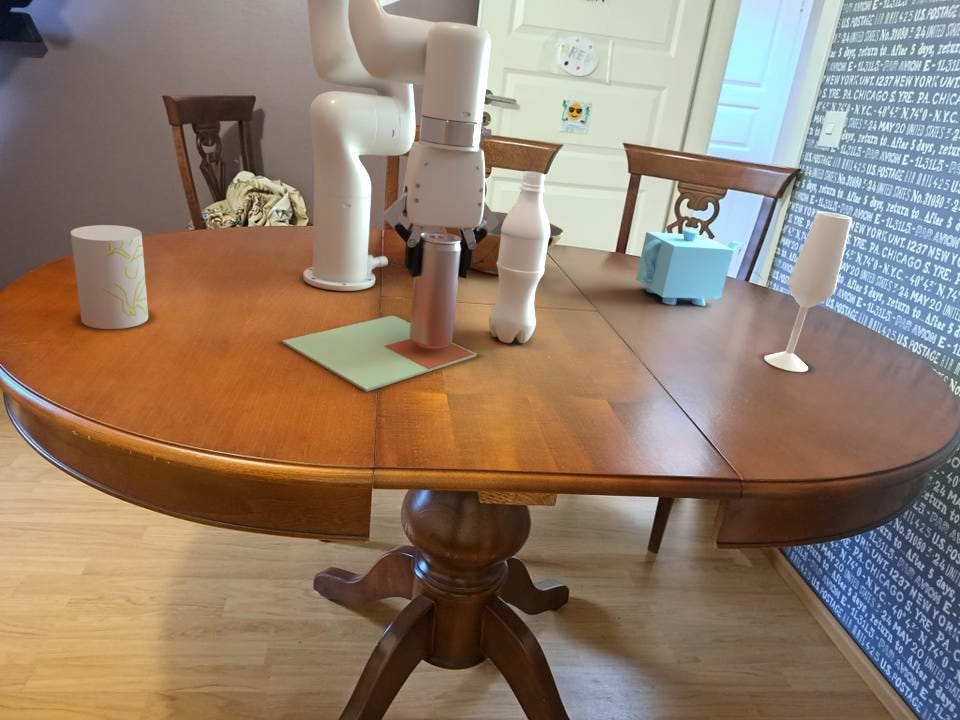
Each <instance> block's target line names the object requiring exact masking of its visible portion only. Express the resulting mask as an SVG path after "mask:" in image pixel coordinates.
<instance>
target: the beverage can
mask: <svg viewBox="0 0 960 720" xmlns="http://www.w3.org/2000/svg"><path fill="white" fill-rule="evenodd" d="M461 241H462V239H461V238H460V237H459V236H456V235H453V234H449V233H447V232H445V231H444V232H442V231H423V232H422V234H421V236H420V238H419V240H418V247H419V248H420V257H419V269H418V276H416V277H413V289H412V301H411V313H410V322H409V323H410V335H409V336H410V339H411V341H412V342H413V343H414V344H415V345H417V346H419V347H422V348H426V349H441V348H445V347H447V346H448V345H449V344H450V342H452V341H453V334H454V327H455V325H454V324H455V315H456V307H457V299H458V298H457V297H458V291H459V290H458V289H459V280H460V276H459V272H460V263H461V254H462V245H461Z"/></svg>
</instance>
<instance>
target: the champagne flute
mask: <svg viewBox="0 0 960 720" xmlns="http://www.w3.org/2000/svg"><path fill="white" fill-rule="evenodd" d="M852 220H853V218H852V217H851V216H850V215H849V216H848V215H845V214H840V213H835V212H829V211H816V214H815V216H814V219H813V221H812V224H811V226H810V228H809V230H808V233H807V235H806V238H805V240H804V242H803V244H802V247H801V250H800V251H799V254H798V257H797V258H796V261H795V263H794V266H793V268H792V270H791V273H790V275H789V277H788V280H787V286H788V289H789V292H790V294H791V296H792V297H793V299H794V300H795V302H796V303H797V304H798V305H799V309H798V312H797V315H796V318H795V320H794V324H793V327H792V331H791V334H790V336H789V340H788V343H787V346H786V349H785V351H780V352H776V353H772V354H768V355H767V354H766V355H765V356H764V357H763V358H764V361H765V362H767V363H768V364H769V365H771V366H773V367H776V368H778V369H781V370H784V371H789V372H795V373H804V372H807V371H808V370H809V367H808V366H807V365H806V363H804V361H802V360H801V358H799V357H798V356H797V354H795V353H794V352H795V350H796V346H797V343H798V341H799V337H800V335H801V331H802V329H803V325H804V322H805V320H806V316H807V313H808V310H809V308H813V307H816V306H818V305H819V304H821V303H823V302H825V301H827V300H828V299H829V298H831V297H832V296H833V295H834V294H835V292H836V289H837V284H838V281H839V276H840V271H841V268H842V263H843V259H844V254H845V250H846V247H847V242H848V237H849V233H850V230H851V229H850V228H851V225H852V222H853V221H852Z"/></svg>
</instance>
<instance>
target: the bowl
mask: <svg viewBox="0 0 960 720" xmlns="http://www.w3.org/2000/svg"><path fill="white" fill-rule="evenodd" d="M492 213H493V214H494V215H495V217H496V218H497V219H498V221H499V224H498V225H497V226H496V227H495V228H494V229H493V230H492V231H491V232H489V233H488V234H487V236H486V237H485V238H484V239H482V240H481V241H480V242H479V243H478V244H477V245H476V248H475V249H473V250H472V258H471V266H470V268H471V269H474V270H476V271H479V272H482V273H486V274H492V275H496V276H497V275H498V276H499V274H498V267H497V261H498V256H499V248H500V241H501V233H502V231H501V228H502V224H503V222H504V220H505V218H506V216H507V215H508V213H509V212H501V211H492ZM483 222H484V217H483V218H482V222H481V224H482V223H483ZM481 224H480V225H481ZM480 225H479V226H480ZM549 225H550V238H549V240H548V246H547V252H549V250H551V248H553V247H554V246H555V245H556V244H557V243H558V242H559V240H560V239H562V236H563V234H564V230H563V229H562V228H561V227H558V226H557V225H555V224H553V223H550V222H549ZM477 227H478V226H477ZM475 228H476V227H475ZM475 228H472V229H473V230H474V229H475ZM444 229H445V231H446V233H449V234H453V235H456V236H459V237H460V238H461V236H460V232H459V228H444Z"/></svg>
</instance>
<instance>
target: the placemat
mask: <svg viewBox="0 0 960 720" xmlns="http://www.w3.org/2000/svg"><path fill="white" fill-rule="evenodd" d="M410 323H411V322H409V321H406V320H404V319H402V318H400V317H398V316H396V315H393V314H392V315H388V316H383V317H379V318H375V319H370V320H366V321H362V322H358V323H353V324H349V325H343V326H340V327H336V328H335V327H334V328H331V329H327V330H322V331H318V332H313V333H309V334H304V335H300V336H296V337H292V338H287V339H283V340H281V341H282V344H283V345H284V346H287V347H288V348H289V349H292V350H293V351H295V352H297V353H298V354H300V355H302V356H304V357H305V358H306V359H309V360H311V361H312V362H314V363H315V364H317V365H319V366H321V367H322V368H324V369H326V370H327V371H329V372H331V373H332V374H335V375H336V376H338V377H340V378H341V379H343V380H344V381H346V382H348V383H350V384H351V385H353V386H355V387H357V388H358V389H360V390H362V391H364V392H365V393H368V392H370V391H374V390H377V389H379V388H383V387H386V386H389V385H392V384H396V383H398V382H401V381H405V380H408V379H411V378H414V377H417V376H421V375H422V374H426V373H430V372H432V371H435V370H438V369H441V368H445V367H448V366H451V365H454V364H457V363H460V362H463V361H466V360H469V359H473V358H475V357H477V355H478V354H477V353H476V352H473V351H472V350H470V349H468V348H465V347H463V346H461V345H458V344H456V343H455V342H452V341H451V342H450V344H449V345H448V346H447V347H445V348H441V349H426V348H422V347H419V346H417V345H415V344H414V343H413V342H412V341H411V339H410V336H409V335H410Z"/></svg>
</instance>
